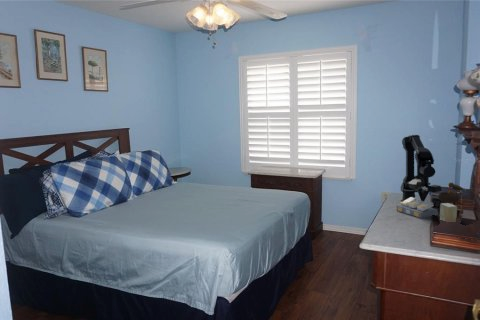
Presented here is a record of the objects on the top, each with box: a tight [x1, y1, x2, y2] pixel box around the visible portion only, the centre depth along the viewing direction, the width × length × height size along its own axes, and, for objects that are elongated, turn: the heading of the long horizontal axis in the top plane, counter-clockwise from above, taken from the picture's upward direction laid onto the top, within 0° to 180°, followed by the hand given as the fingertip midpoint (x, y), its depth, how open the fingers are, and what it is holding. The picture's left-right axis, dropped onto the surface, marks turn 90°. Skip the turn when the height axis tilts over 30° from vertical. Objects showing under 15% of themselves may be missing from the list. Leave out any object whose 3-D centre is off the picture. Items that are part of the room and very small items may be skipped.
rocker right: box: [417, 201, 434, 211], centre depth 191 cm, size 4×8×2 cm, turn 112°
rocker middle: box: [409, 199, 426, 208], centre depth 196 cm, size 4×8×2 cm, turn 113°
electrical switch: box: [430, 193, 447, 212], centre depth 200 cm, size 9×5×9 cm, turn 57°
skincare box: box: [439, 203, 458, 222], centre depth 167 cm, size 6×4×12 cm
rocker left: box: [400, 197, 417, 207], centre depth 201 cm, size 4×8×2 cm, turn 113°
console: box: [396, 204, 438, 219], centre depth 196 cm, size 16×12×4 cm
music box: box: [431, 182, 468, 218], centre depth 179 cm, size 15×11×20 cm
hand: (422, 201), depth 197 cm, fingers closed, pressing on rocker middle
